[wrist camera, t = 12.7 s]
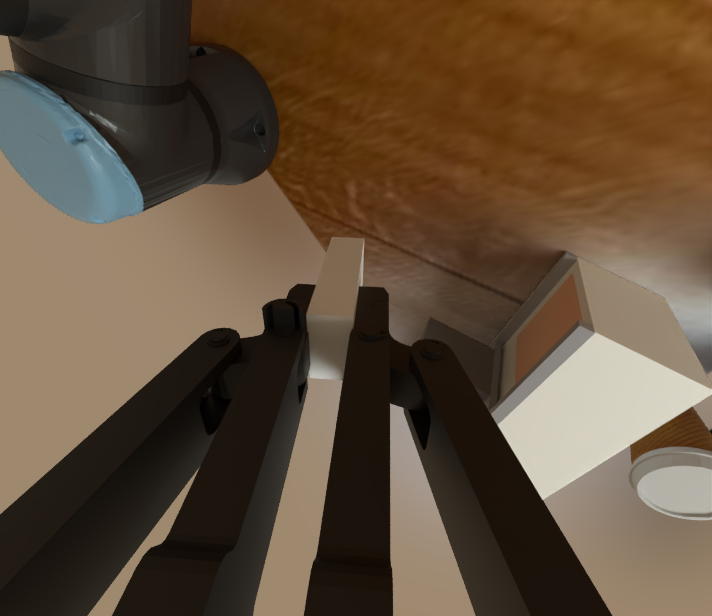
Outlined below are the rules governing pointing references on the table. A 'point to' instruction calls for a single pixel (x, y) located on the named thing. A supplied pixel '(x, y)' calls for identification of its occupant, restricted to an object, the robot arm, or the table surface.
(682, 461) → the disposable coffee cup
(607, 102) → the table surface
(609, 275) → the housing
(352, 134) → the table surface
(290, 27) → the table surface
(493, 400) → the side door
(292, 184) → the table surface
